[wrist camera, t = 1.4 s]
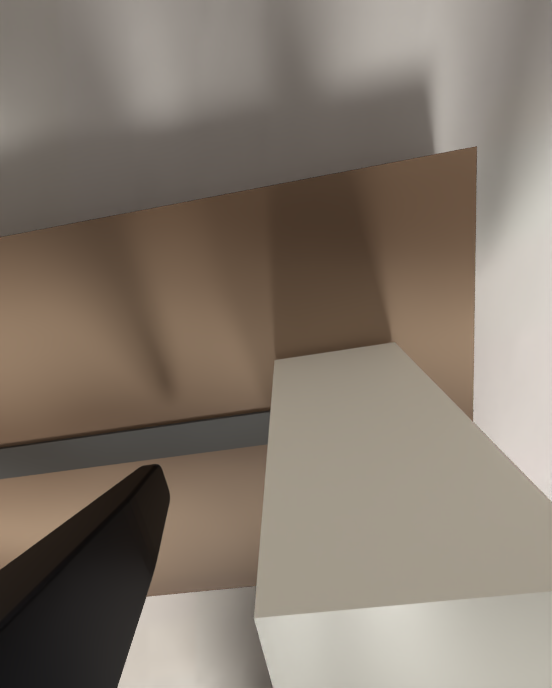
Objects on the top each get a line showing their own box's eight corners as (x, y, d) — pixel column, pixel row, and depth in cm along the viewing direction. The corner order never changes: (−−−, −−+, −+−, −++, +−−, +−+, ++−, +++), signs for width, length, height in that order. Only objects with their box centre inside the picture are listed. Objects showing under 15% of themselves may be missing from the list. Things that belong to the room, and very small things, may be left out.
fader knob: (403, 474, 10) (576, 832, 4) (298, 487, 10) (316, 843, 4) (394, 341, 8) (631, 582, 3) (274, 360, 9) (254, 619, 3)
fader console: (443, 515, 13) (474, 570, 11) (-148, 579, 15) (-219, 637, 13) (436, 163, 9) (482, 143, 7) (-354, 312, 11) (-505, 332, 9)
